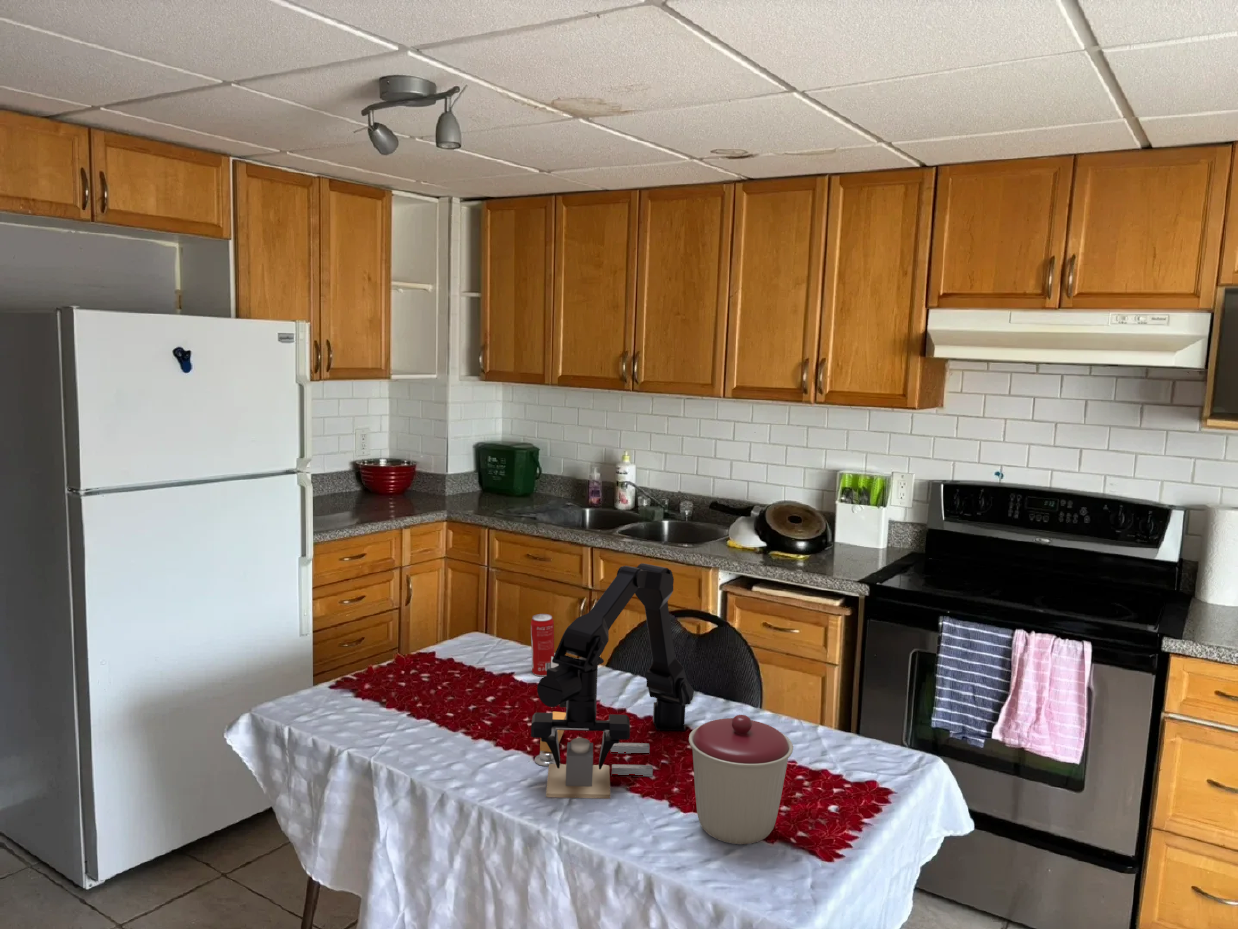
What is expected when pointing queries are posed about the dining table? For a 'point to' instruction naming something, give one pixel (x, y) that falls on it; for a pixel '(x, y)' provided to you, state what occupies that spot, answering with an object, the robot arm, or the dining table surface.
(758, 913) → the dining table surface
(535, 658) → the beverage can
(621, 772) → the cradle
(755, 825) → the canister
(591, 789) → the board
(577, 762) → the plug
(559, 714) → the latch
